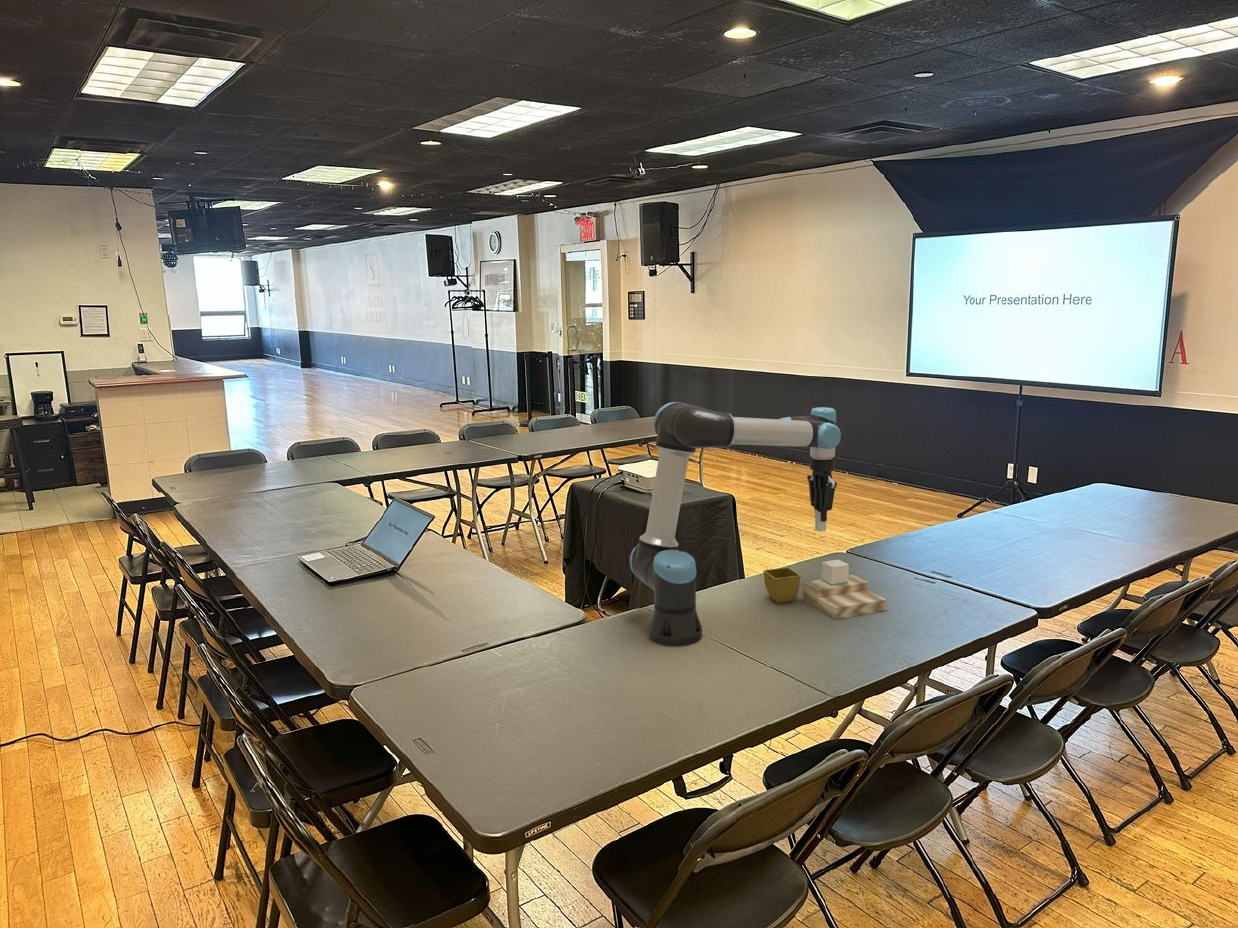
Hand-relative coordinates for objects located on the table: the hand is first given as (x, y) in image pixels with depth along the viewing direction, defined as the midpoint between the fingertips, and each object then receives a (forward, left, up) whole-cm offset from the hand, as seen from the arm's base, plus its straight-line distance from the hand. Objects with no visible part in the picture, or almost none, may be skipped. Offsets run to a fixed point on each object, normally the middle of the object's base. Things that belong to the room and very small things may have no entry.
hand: (820, 530), depth 254 cm
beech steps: (0, -13, -20) cm, 24 cm away
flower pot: (-15, -2, -21) cm, 26 cm away
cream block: (0, -8, -14) cm, 17 cm away
